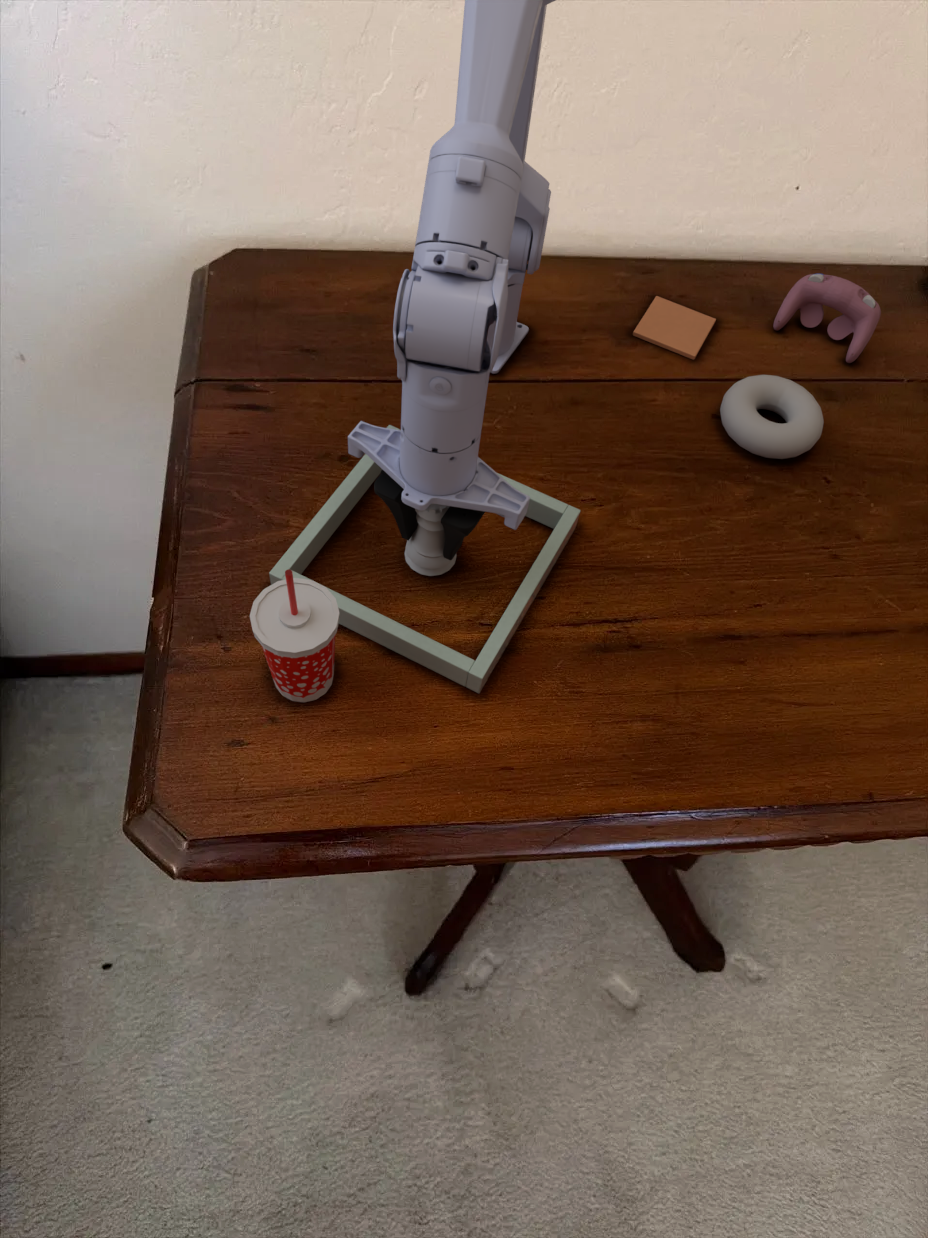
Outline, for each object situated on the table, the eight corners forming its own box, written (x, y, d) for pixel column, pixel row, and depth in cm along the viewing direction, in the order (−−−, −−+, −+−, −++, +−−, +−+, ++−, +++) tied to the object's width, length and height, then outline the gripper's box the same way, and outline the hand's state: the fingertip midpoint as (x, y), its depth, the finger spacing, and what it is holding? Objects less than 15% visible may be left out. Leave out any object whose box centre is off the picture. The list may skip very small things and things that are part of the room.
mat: (632, 335, 93) (633, 331, 93) (655, 299, 97) (656, 295, 96) (693, 360, 92) (695, 356, 91) (714, 322, 95) (716, 318, 95)
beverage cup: (282, 632, 70) (263, 523, 58) (355, 655, 70) (350, 549, 58) (250, 697, 67) (223, 596, 55) (326, 721, 67) (315, 624, 55)
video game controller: (856, 361, 96) (893, 298, 92) (853, 367, 93) (891, 301, 89) (773, 323, 98) (806, 260, 95) (767, 327, 95) (801, 262, 91)
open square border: (271, 590, 72) (268, 572, 70) (388, 443, 82) (389, 423, 80) (479, 694, 69) (482, 679, 67) (575, 527, 79) (581, 509, 76)
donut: (712, 455, 85) (816, 475, 84) (723, 429, 82) (831, 450, 81) (717, 385, 90) (814, 403, 90) (728, 358, 87) (828, 377, 87)
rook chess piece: (396, 545, 76) (398, 483, 69) (444, 531, 77) (450, 469, 70) (415, 585, 74) (419, 526, 67) (464, 570, 75) (473, 511, 68)
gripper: (322, 418, 61) (331, 537, 73) (509, 503, 59) (487, 612, 70) (374, 359, 65) (374, 481, 76) (552, 436, 62) (524, 551, 74)
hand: (431, 540), depth 73 cm, fingers closed on rook chess piece, 3 cm apart
